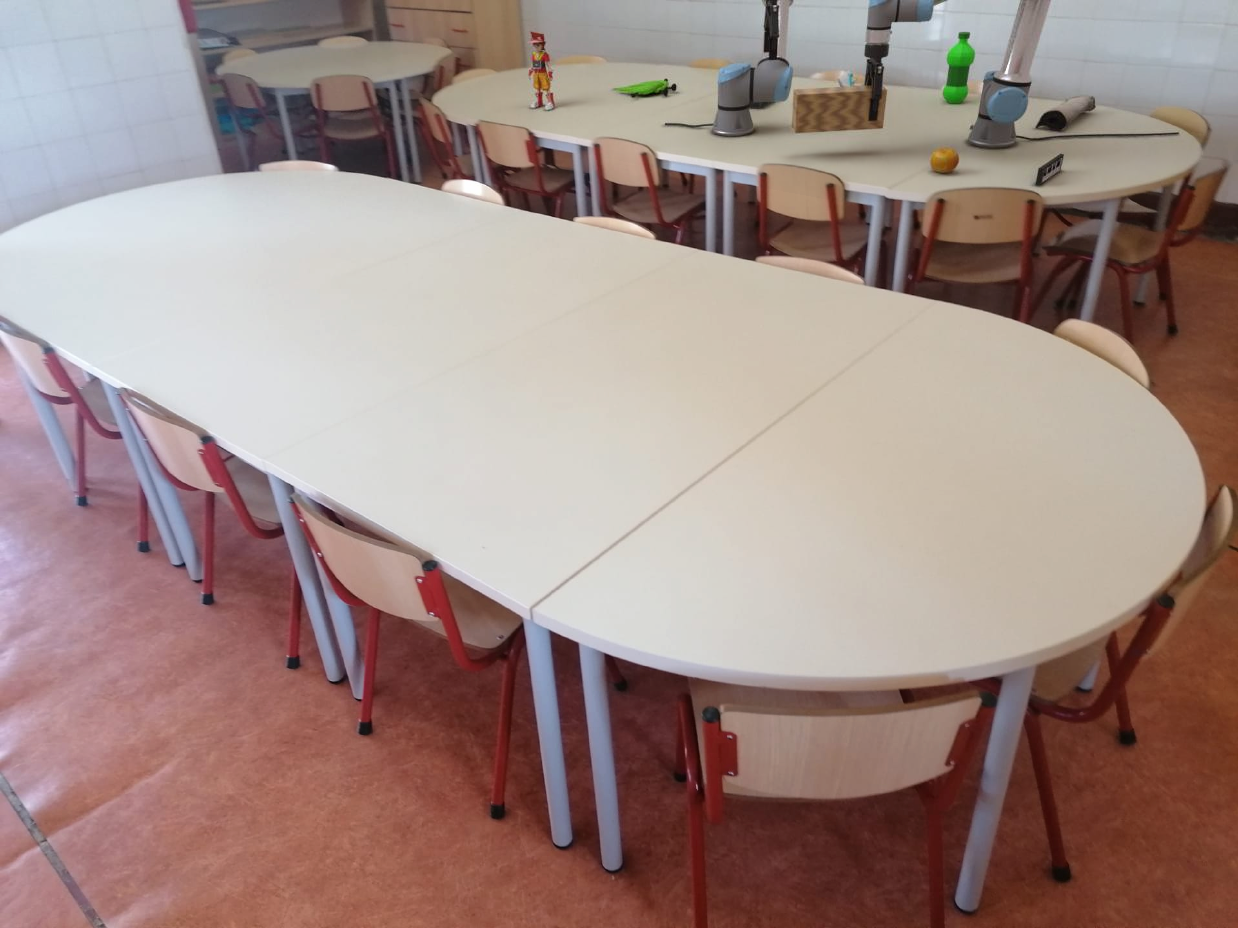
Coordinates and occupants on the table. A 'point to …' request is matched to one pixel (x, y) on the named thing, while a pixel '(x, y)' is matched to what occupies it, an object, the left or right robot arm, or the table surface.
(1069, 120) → the rolled mat
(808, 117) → the box
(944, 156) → the fruit
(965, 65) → the plastic bottle
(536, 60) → the toy
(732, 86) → the left robot arm
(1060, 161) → the midi keyboard
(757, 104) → the disk drive
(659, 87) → the toy
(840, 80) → the anatomical model
